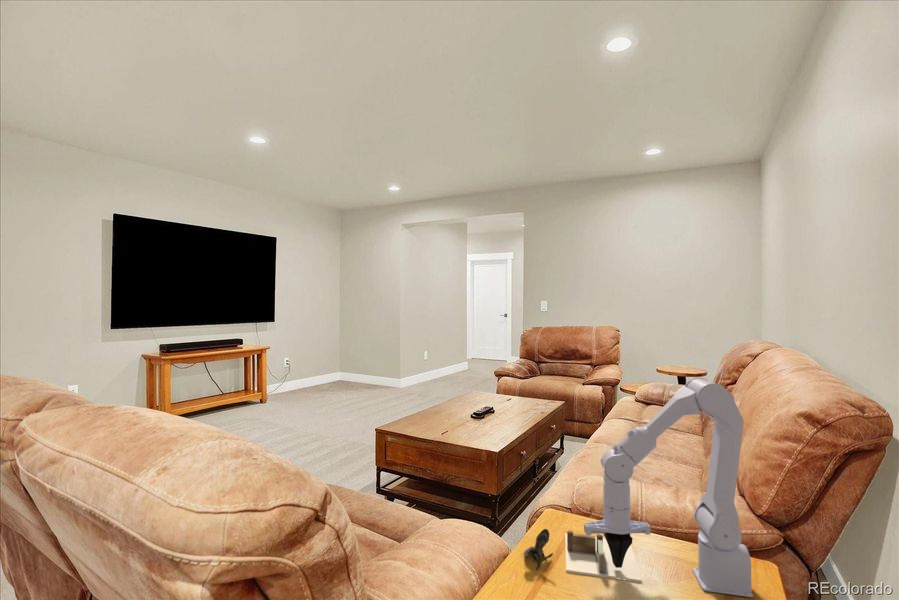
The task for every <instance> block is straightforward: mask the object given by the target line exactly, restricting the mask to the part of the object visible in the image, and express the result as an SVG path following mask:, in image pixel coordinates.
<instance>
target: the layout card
mask: <svg viewBox="0 0 899 600" xmlns="http://www.w3.org/2000/svg"><path fill="white" fill-rule="evenodd" d="M564 538H565V540H564V542H565V572H566V573H570V574H577V575H584V576H585V575H586V576H590V577H591V576H592V577H598V576H599V578H605V577H609V578H608V579H612V578H620V579H626V580H625V581H627V580H631V581H630V582H634V581H635V582H634V583H641V582H642V583H643V579H642V577H641V574H640V570H639V567H638V562H637V559H636V557H635V554H634V550H633V547H632V544H631V545H630V547H629V548H628V550H627V552H626V554H625V557H624V561H623V565H622V568H616V567H615V566H614V564H613V561H612V556H611V552H610V549H609V546H608V543H607V541H606V538H605V537H603V553H604V572H600V571H599V562H598V554H597V536H595V538H596V554H591V553H583V552H575V551H568V550H567V532H566V533H565V534H564ZM620 579H619V580H620Z"/></svg>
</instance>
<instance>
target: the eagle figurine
mask: <svg viewBox="0 0 899 600" xmlns="http://www.w3.org/2000/svg"><path fill="white" fill-rule="evenodd" d="M535 538H536V539H535V544H534V545H535V546H529V547H528V548H526V549H525V550H524V552H523V556H524V557H527V556H529V555H531V556H532V558H533V560H532V563H535V564H536V567H535V568H536V569H535V570H536V571H538V570H539V568H541V566H542V564H543V562H546V563H548V562H549V561H548V559H550V558H551V557H552V556H553V555H554V553H553V552H552V553H549V554H548V555H547V556H546V555H545V553H544V547H546V545H547V544H548V542H549V541H550V532H549V529H547V528H544V529H543V530H541V531H540V532H539V533H538V534H537V536H536V537H535Z"/></svg>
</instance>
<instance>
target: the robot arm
mask: <svg viewBox="0 0 899 600" xmlns="http://www.w3.org/2000/svg"><path fill="white" fill-rule="evenodd" d="M701 410H702V411H703V412H704V413H705V415H707V417H708V418H710V420H711V421H712V422H713V424H714V426H713V431H712V432H713V434H712V443H711V450H710V458H709V459H710V460H709V467H708V474H707V483H706V491H705V493H703V494H702V495H701V496H700V502H699V504H698V506H696V507H695V510H694V515H693V516H694V520H695V522H696V524H697V525H698V526H699V532H698V535H697V538H698V540H697V545H698V547H697V548H698V550H697V551H698V553H697V554H698V557H697V558H698V563H697V564H698V567H692V572H693V573H694V575H695V578H696V580H697V582H698V584H699V586H700V587H701V589H702V591H705V592H710V593H717V594H718V593H719V594H724V595H732V596H739V597H746V598H753V597H754V593H752V592H753V591H752V590H753V589H752V560H751V556H750V552H749V550H748V548H747V546H746V545H745V544H742V543H741V542H742V539H743V537H742V535H743V534H742V532H741V529H740V526H739V520H740V517H739V514H738V510H737V507H736V504H735V497H736V488H737V480H738V473H739V472H738V471H739V464H740V456H741V449H742V440H743V432H744V424H745V423H744V422H745V421H744V419H743V416H742V414H741V411H740V409H739V408H738V406H737V403H736V400H735V396H734V395H733V394H732V393H731V392H730V391H728V389H726V388H725V387H724V386H723V385H721V384H718V383H715V382H712V381H709V380H708V379H706V378H705V377H701V376H700V377H699V376H697V377H696V376H695V377H693V378H690V379H689V380H687V382H686V383H685V385H682V386H681V387H679V388H678V389H677V390H676V392H675V393H674V395H673V396H672V397H671V398H670V399H669V400H668V401H667V402H666V403H665V404H664V405H663V407H662V408H661V409H660V410H658V411H657V413H656V414H655V415H654V416H653V417H652V418H651V419H650V420H649V421H648V422H647V423H646V424H645V425H644V426H635V427H634V428H633V429H632V428H629V429H628V430H627V431H626V433H627V434H626V436H624V438H622V439H621V440H620V442H618V443H617V444H613V445H612V446H611V449H608V450H606V451H605V452H604V453H603V454H602V456H601V457H602V458H600V463H601V466H602V468H603V469H604V470H603V482H602V483H603V484H602V490H603V491H602V493H603V494H602V495H603V496H602V497H603V501H602V502H603V519H599V520H594V521H590V522H583V532H584V533H585V535H588V536H592V534H593V535H595V534H596V535H598V534H600V535H603V536H604V538H606V541H607V543H608V546H609V549H610V552H611V556H612V561H613V564H614V566H615V567H616V568H622V565H623V561H624V557H625V554H626V552H627V550H628V548H629V547H630V545H631V546H632V545H633V537H632V535H631V534H645V535H647V536H648V535H651V525H650V524H649V523H648V522H647V521H638V520H631V485H630V479H631V478H632V477H633V475H634V468H635V467H636V466H638V464H640V463H641V462H642V461H643V460H644V459H645V458H646V457H647V456H648V455H649V454H650V453H651V452H652V451H654V450H655V448H657V440H658V438H659V437H660V436H661V435H662V434H663V433H664V432H666V431H667V430H668V429H670V428H671V427H672V426H673V425H674V424H676V423H677V422H678V421H679V420H680V419H682V418H683V417H684V416H689V415H690V416H692V415H694V416H695V415H702V412H701Z"/></svg>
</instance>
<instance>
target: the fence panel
mask: <svg viewBox="0 0 899 600" xmlns="http://www.w3.org/2000/svg"><path fill="white" fill-rule="evenodd" d="M598 562H599V571H600V572H604V553H603V544H602V540H598Z"/></svg>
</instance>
